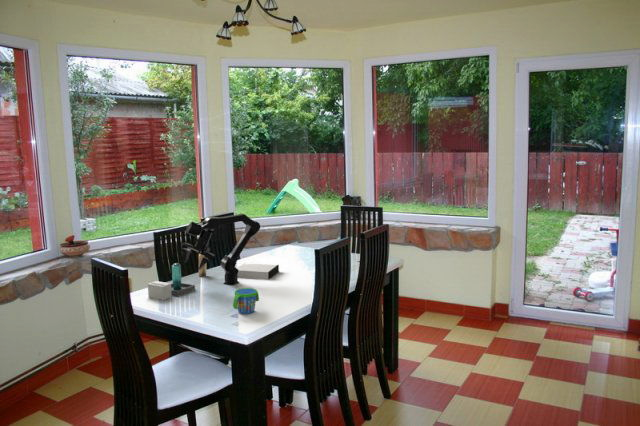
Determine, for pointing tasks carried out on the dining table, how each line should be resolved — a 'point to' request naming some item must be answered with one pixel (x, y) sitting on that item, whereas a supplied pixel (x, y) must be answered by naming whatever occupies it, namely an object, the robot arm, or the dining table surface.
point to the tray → (184, 290)
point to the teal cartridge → (176, 276)
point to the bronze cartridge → (203, 270)
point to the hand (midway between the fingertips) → (192, 266)
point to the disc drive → (257, 271)
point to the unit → (159, 290)
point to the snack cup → (245, 300)
